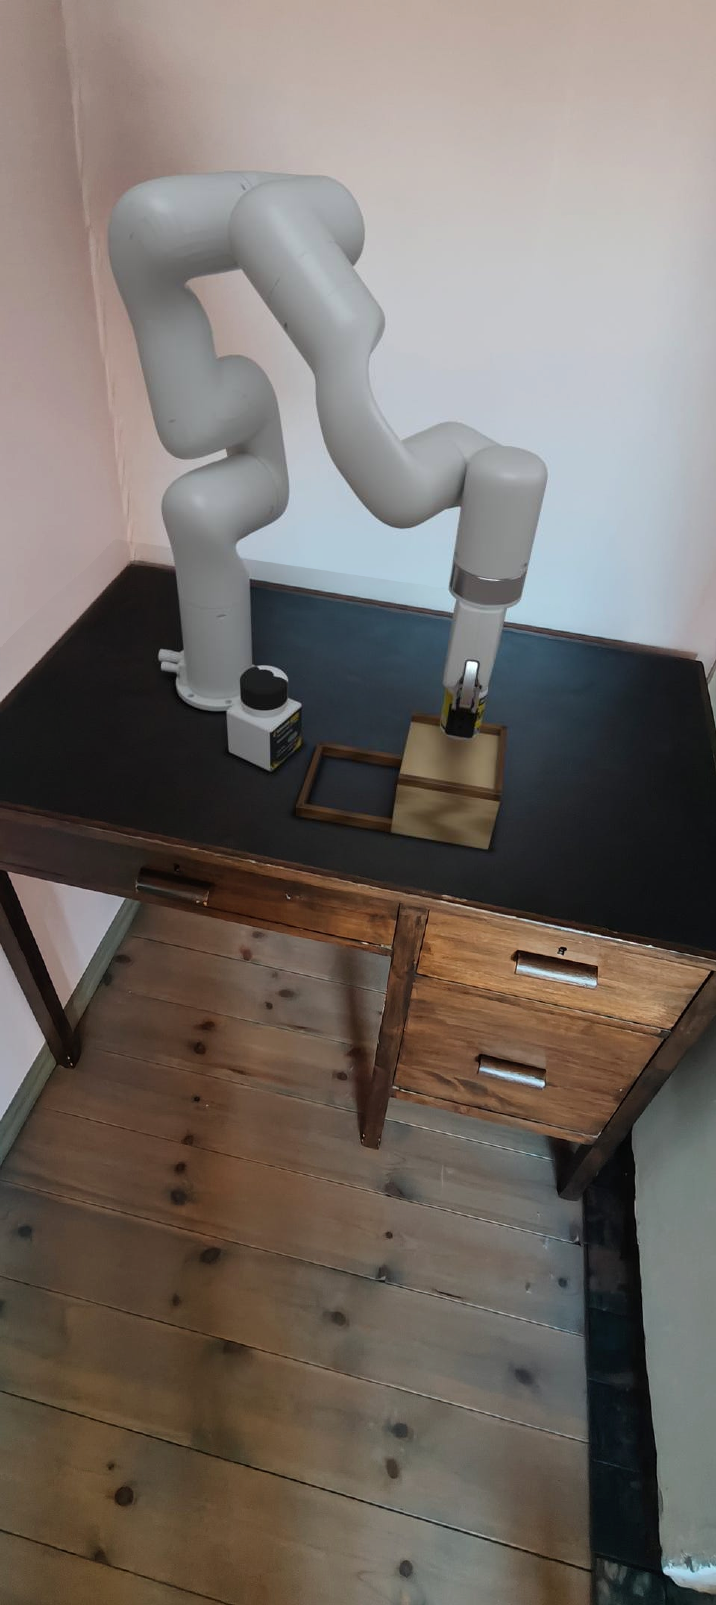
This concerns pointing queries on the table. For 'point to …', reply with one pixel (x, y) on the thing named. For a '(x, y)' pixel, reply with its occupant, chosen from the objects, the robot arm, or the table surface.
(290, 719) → the medicine bottle
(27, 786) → the table surface
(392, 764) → the shelf rack
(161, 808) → the table surface
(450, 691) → the supplement bottle
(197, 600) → the robot arm
